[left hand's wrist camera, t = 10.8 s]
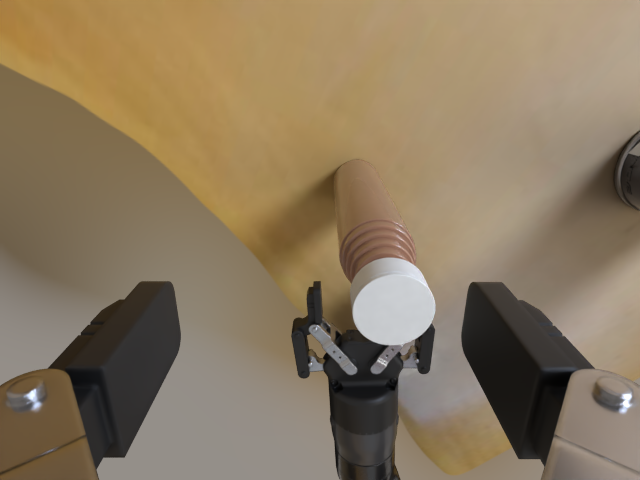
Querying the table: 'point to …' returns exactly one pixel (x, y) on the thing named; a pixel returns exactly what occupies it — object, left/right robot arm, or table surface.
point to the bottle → (367, 219)
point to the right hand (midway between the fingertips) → (360, 282)
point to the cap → (391, 301)
